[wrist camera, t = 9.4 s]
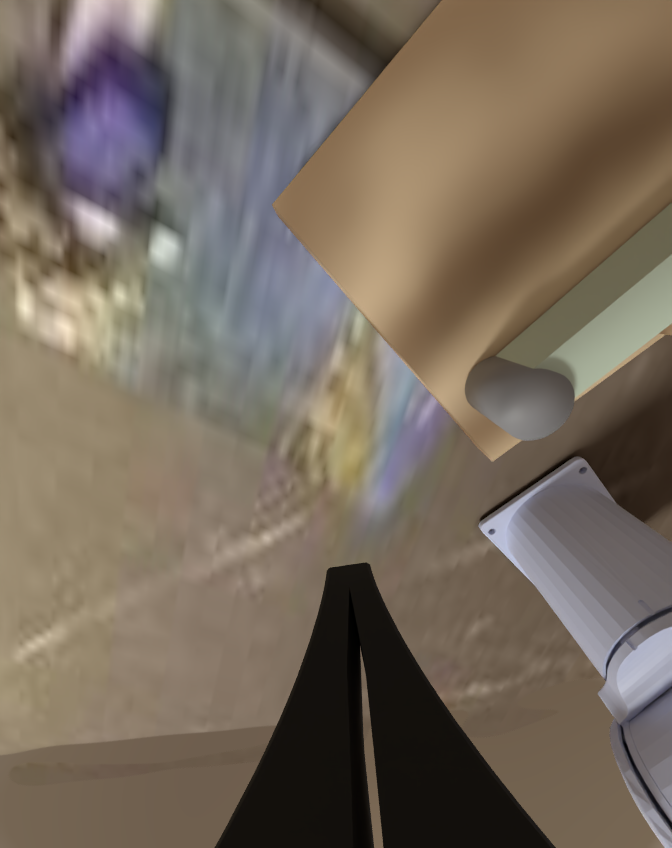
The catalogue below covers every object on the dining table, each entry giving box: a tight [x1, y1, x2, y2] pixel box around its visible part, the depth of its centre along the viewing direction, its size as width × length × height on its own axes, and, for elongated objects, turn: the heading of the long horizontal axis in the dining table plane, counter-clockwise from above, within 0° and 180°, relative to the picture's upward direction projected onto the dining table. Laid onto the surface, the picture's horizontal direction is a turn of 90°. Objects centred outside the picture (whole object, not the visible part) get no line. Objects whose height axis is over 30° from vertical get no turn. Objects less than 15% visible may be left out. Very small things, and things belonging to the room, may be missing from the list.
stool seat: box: [272, 0, 672, 462], centre depth 12 cm, size 17×17×6 cm
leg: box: [465, 203, 672, 440], centre depth 13 cm, size 14×3×4 cm, turn 135°
